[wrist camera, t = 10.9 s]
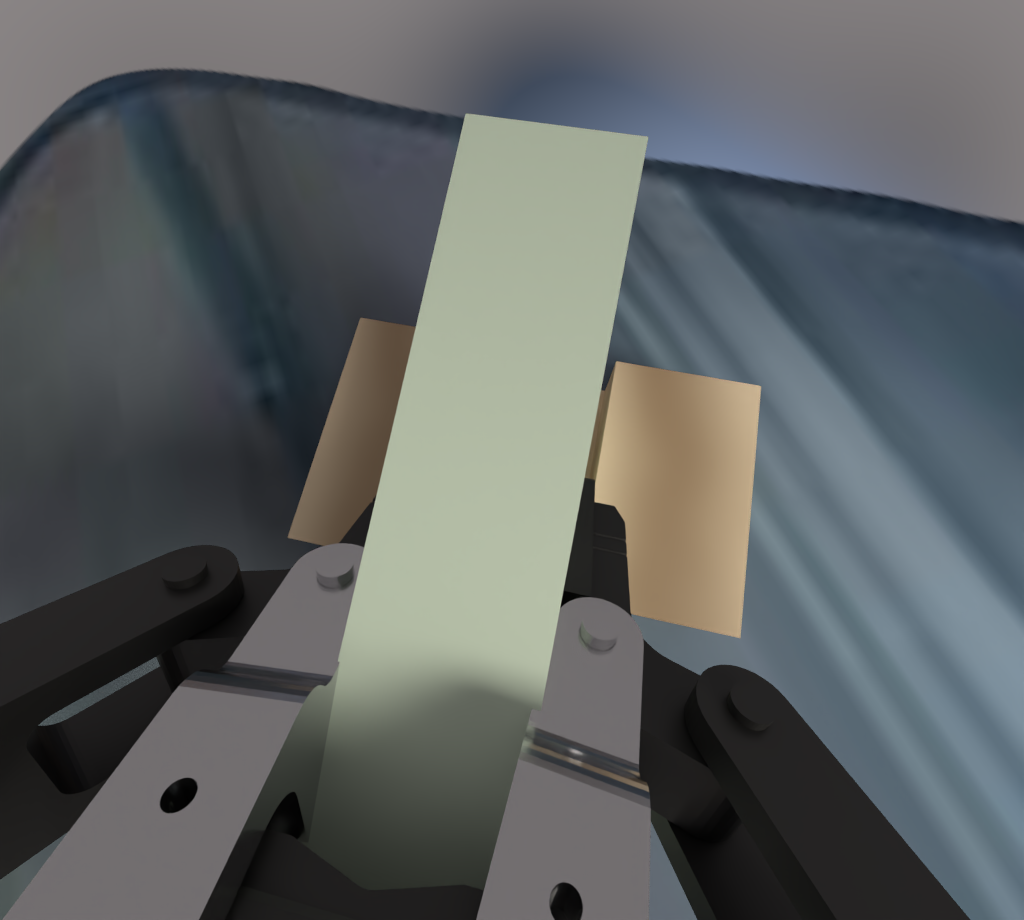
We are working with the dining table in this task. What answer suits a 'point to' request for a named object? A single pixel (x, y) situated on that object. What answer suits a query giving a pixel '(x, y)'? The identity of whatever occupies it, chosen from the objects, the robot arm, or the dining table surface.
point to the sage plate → (476, 504)
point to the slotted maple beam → (612, 463)
